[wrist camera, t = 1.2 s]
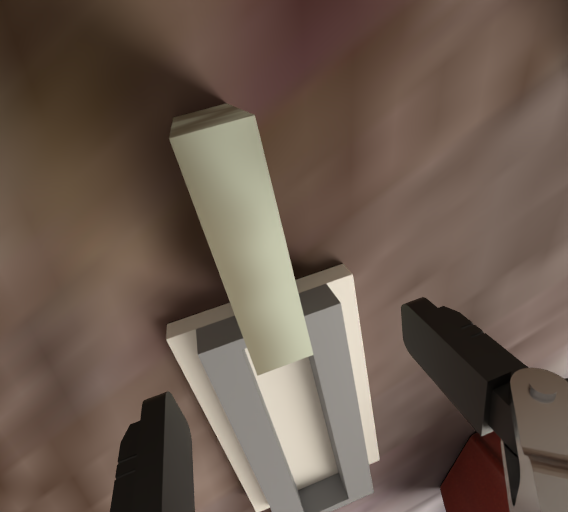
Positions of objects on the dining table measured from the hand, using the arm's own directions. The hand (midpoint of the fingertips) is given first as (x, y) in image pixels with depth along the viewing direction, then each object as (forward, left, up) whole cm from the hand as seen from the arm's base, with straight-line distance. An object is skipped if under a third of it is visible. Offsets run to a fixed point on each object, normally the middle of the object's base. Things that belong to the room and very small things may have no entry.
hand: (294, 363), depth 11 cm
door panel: (0, 0, -17) cm, 17 cm away
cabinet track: (0, +22, -17) cm, 28 cm away
